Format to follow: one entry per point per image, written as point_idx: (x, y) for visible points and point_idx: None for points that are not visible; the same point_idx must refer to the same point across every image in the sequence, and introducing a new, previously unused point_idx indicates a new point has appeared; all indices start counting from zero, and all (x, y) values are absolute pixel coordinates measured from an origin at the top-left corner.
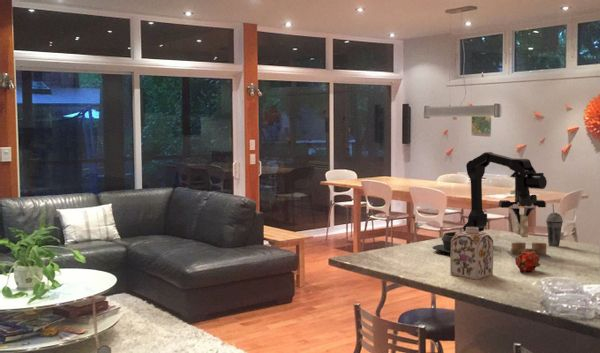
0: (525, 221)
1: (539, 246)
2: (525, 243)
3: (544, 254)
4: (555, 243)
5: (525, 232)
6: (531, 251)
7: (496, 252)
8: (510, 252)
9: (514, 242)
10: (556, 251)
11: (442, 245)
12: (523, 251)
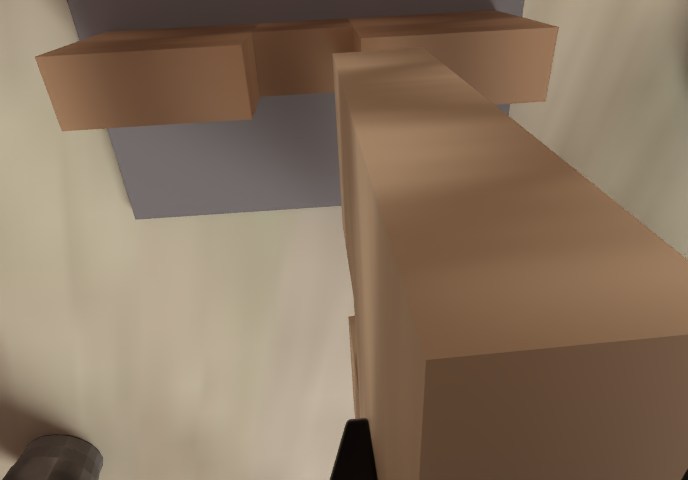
0: (480, 180)
1: (157, 44)
2: (362, 37)
3: (122, 31)
4: (36, 460)
5: (394, 72)
6: (275, 27)
7: None
8: None
9: (505, 99)
10: (25, 298)
11: None
12: (374, 23)
